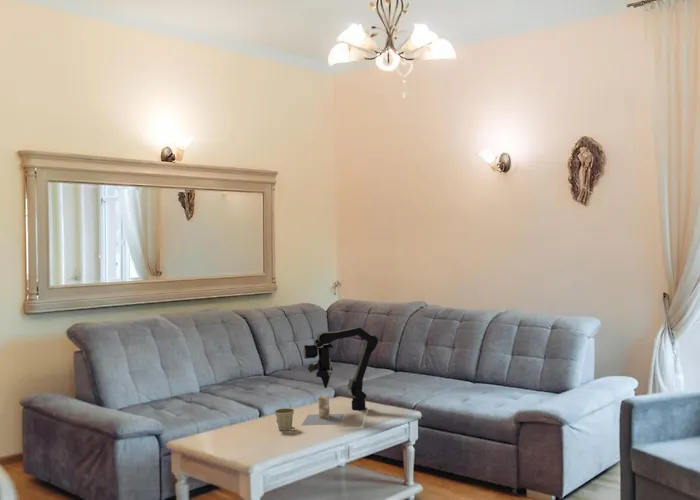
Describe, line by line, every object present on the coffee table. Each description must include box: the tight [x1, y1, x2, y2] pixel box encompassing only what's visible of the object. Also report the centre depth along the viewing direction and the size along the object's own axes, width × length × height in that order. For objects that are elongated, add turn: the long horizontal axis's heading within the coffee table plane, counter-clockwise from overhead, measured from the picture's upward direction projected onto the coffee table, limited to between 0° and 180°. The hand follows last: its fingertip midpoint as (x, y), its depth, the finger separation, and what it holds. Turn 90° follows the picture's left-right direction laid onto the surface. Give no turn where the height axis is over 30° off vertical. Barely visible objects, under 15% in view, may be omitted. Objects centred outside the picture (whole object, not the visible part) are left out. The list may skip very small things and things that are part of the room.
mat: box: [301, 413, 344, 426], centre depth 339 cm, size 18×20×1 cm
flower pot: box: [274, 407, 295, 431], centre depth 326 cm, size 9×9×9 cm
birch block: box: [318, 394, 331, 418], centre depth 343 cm, size 4×5×10 cm
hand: (325, 387), depth 352 cm, fingers closed
